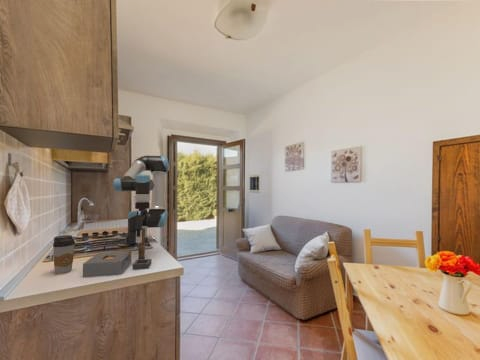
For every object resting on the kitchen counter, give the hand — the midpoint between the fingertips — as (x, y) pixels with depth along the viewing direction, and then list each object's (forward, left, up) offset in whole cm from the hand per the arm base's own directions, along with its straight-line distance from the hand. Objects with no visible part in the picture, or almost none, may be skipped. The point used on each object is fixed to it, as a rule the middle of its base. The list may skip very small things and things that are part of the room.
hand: (141, 239), depth 123 cm
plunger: (+13, -12, -8) cm, 19 cm away
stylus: (0, 0, -11) cm, 11 cm away
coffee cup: (+12, -32, -11) cm, 36 cm away
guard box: (+13, -12, -11) cm, 21 cm away
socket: (+12, +3, -11) cm, 16 cm away
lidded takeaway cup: (-11, -44, -11) cm, 47 cm away
